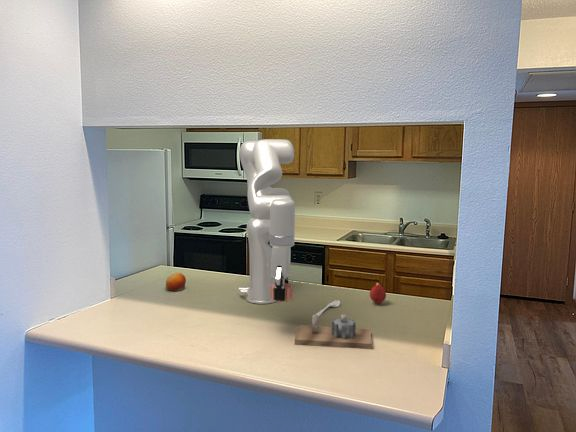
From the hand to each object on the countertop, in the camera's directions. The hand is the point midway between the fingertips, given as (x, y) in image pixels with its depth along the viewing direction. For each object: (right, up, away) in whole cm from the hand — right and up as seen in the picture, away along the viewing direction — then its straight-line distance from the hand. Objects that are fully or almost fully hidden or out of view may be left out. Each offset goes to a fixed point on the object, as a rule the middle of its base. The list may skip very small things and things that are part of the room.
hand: (281, 295), depth 140 cm
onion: (+35, -8, +26) cm, 44 cm away
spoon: (+15, -9, +19) cm, 26 cm away
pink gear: (0, -1, 0) cm, 1 cm away
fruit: (-43, -5, +43) cm, 62 cm away
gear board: (+16, -12, -6) cm, 20 cm away
